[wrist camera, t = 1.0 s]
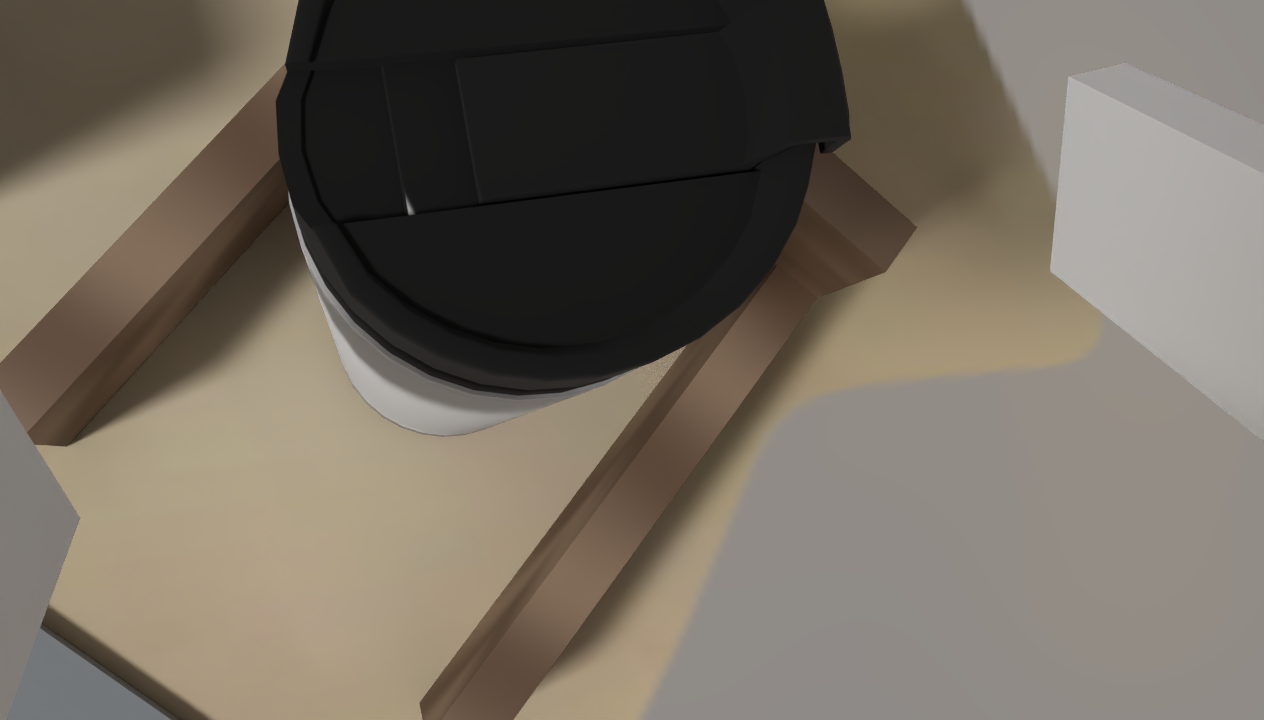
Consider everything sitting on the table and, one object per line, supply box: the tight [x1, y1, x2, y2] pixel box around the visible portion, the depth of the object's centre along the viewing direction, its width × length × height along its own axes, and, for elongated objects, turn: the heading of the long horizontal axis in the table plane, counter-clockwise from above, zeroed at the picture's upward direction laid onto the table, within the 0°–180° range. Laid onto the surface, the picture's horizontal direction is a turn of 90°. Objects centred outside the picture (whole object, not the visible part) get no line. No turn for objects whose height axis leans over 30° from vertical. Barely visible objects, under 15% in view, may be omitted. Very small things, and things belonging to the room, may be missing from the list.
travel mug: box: [276, 0, 851, 436], centre depth 20 cm, size 6×7×20 cm
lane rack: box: [0, 64, 917, 720], centre depth 26 cm, size 18×15×8 cm
